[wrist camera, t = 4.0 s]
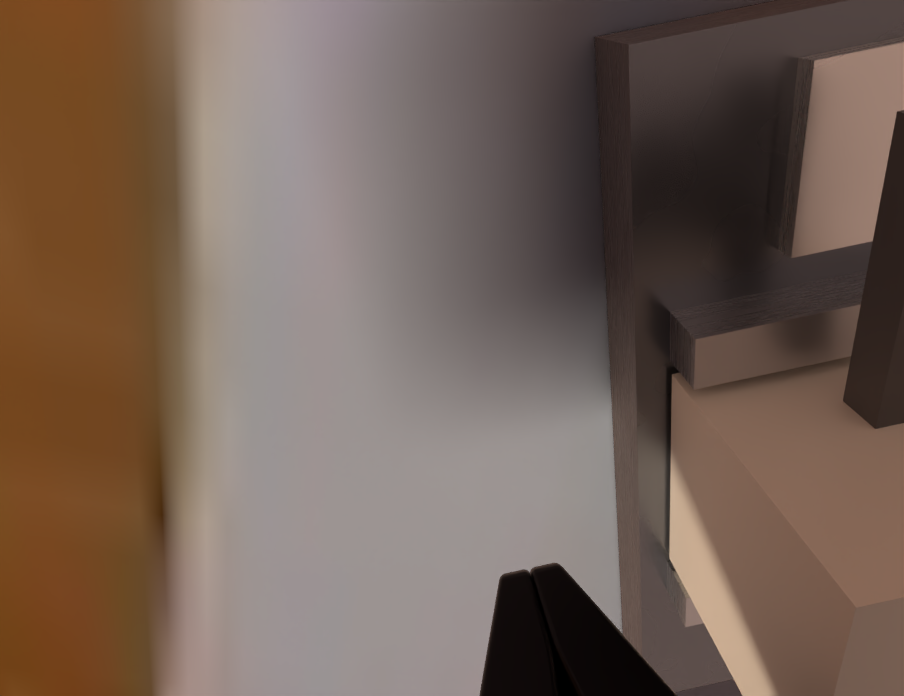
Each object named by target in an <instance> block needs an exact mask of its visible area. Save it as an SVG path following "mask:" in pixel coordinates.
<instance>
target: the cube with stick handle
mask: <svg viewBox="0 0 904 696" xmlns="http://www.w3.org/2000/svg"><path fill="white" fill-rule="evenodd" d="M669 559H670V560H671V562H672V564H673V566H674V568H675V570H676V572H677V574H678V575H679V577H680V579H681V581H682V583H683V585H684V587H685V589H686V590H687V592H688V594H689V596H690V598H691V600H692V602H693V604H694V605H695V607H696V609H697V611H698V613H699V615H700V617H701V619H702V621H703V622H704V624H705V626H706V628H707V630H708V632H709V634H710V636H711V637H712V639H713V641H714V643H715V645H716V647H717V649H718V651H719V652H720V654H721V656H722V658H723V660H724V662H725V664H726V666H727V667H728V669H729V671H730V673H731V675H732V677H733V679H734V681H735V683H736V684H737V686H738V688H739V690H740V692H741V694H742V696H904V110H901V111H897V114H896V119H895V125H894V130H893V135H892V141H891V146H890V151H889V157H888V162H887V167H886V173H885V178H884V183H883V189H882V194H881V199H880V205H879V210H878V215H877V221H876V226H875V231H874V237H873V242H872V247H871V253H870V258H869V263H868V269H867V274H866V279H865V285H864V290H863V295H862V301H861V306H860V311H859V317H858V322H857V327H856V333H855V338H854V343H853V349H852V354H851V356H850V357H845V358H841V359H836V360H831V361H827V362H822V363H817V364H813V365H808V366H803V367H798V368H794V369H789V370H784V371H780V372H775V373H770V374H766V375H761V376H756V377H752V378H747V379H742V380H737V381H733V382H728V383H723V384H719V385H714V386H709V387H705V388H700V389H695V390H694V389H693V388H692V387H691V386H690V384H689V383H688V382H687V381H686V379H685V378H684V377H683V376H682V375H681V373H676V374H672V401H671V476H670V550H669Z"/></svg>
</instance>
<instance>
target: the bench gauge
mask: <svg viewBox="0 0 904 696" xmlns="http://www.w3.org/2000/svg"><path fill="white" fill-rule="evenodd" d="M595 58H596V80H597V101H598V122H599V143H600V164H601V185H602V206H603V228H604V249H605V270H606V291H607V312H608V333H609V354H610V376H611V397H612V418H613V439H614V460H615V481H616V502H617V524H618V545H619V566H620V587H621V608H622V629H623V635H624V636H625V638H626V639H627V640H628V641H629V642H630V643H631V644H632V645H633V647H634V648H635V649H636V650H637V651H638V652H639V653H640V654H641V655H642V657H643V658H644V659H645V660H646V661H647V662H648V663H649V664H650V666H651V667H652V668H653V669H654V670H655V671H656V672H657V673H658V675H659V676H660V677H661V678H662V679H663V680H664V681H665V682H666V684H667V685H668V686H669V687H670V688H671V689H672V690H673V691H674V692H678V691H683V690H687V689H692V688H696V687H701V686H705V685H710V684H714V683H719V682H723V681H728V680H732V679H733V677H732V675H731V673H730V671H729V669H728V667H727V666H726V664H725V662H724V660H723V658H722V656H721V654H720V652H719V651H718V649H717V647H716V645H715V643H714V641H713V639H712V637H711V636H710V634H709V632H708V630H707V628H706V626H705V624H704V622H703V621H702V619H701V617H700V615H699V613H698V611H697V609H696V607H695V605H694V604H693V602H692V600H691V598H690V596H689V594H688V592H687V590H686V589H685V587H684V585H683V583H682V581H681V579H680V577H679V575H678V574H677V572H676V570H675V568H674V566H673V564H672V562H671V560H670V559H669V550H670V476H671V401H672V374H676V373H681V375H682V376H683V377H684V378H685V379H686V381H687V382H688V383H689V384H690V386H691V387H692V388H693V389H694V390H695V389H700V388H705V387H709V386H714V385H719V384H723V383H728V382H733V381H737V380H742V379H747V378H752V377H756V376H761V375H766V374H770V373H775V372H780V371H784V370H789V369H794V368H798V367H803V366H808V365H813V364H817V363H822V362H827V361H831V360H836V359H841V358H845V357H850V356H851V354H852V349H853V343H854V338H855V333H856V327H857V322H858V317H859V311H860V306H861V301H862V295H863V290H864V285H865V279H866V274H867V269H868V263H869V258H870V253H871V247H872V242H873V237H874V231H875V226H876V221H877V215H878V210H879V205H880V199H881V194H882V189H883V183H884V178H885V173H886V167H887V162H888V157H889V151H890V146H891V141H892V135H893V130H894V125H895V119H896V114H897V111H901V110H904V0H775V1H770V2H765V3H760V4H755V5H750V6H746V7H741V8H736V9H731V10H726V11H721V12H716V13H711V14H706V15H701V16H696V17H691V18H686V19H681V20H676V21H671V22H666V23H661V24H656V25H651V26H646V27H641V28H637V29H632V30H627V31H622V32H617V33H612V34H607V35H602V36H597V37H595Z"/></svg>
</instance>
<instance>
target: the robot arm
mask: <svg viewBox="0 0 904 696" xmlns="http://www.w3.org/2000/svg"><path fill="white" fill-rule="evenodd" d="M480 696H677V695H676V694H675V692H674V691H673V690H672V689H671V688H670V687H669V686H668V685H667V684H666V682H665V681H664V680H663V679H662V678H661V677H660V676H659V675H658V673H657V672H656V671H655V670H654V669H653V668H652V667H651V666H650V664H649V663H648V662H647V661H646V660H645V659H644V658H643V657H642V655H641V654H640V653H639V652H638V651H637V650H636V649H635V648H634V647H633V645H632V644H631V643H630V642H629V641H628V640H627V639H626V638H625V636H624V635H623V634H622V633H621V632H620V631H619V630H618V629H617V627H616V626H615V625H614V624H613V623H612V622H611V621H610V620H609V618H608V617H607V616H606V615H605V614H604V613H603V612H602V611H601V610H600V608H599V607H598V606H597V605H596V604H595V603H594V602H593V601H592V599H591V598H590V597H589V596H588V595H587V594H586V593H585V592H584V590H583V589H582V588H581V587H580V586H579V585H578V584H577V583H576V582H575V580H574V579H573V578H572V577H571V576H570V575H569V574H568V573H567V571H566V570H565V569H564V568H563V567H562V566H561V565H559V564H558V563H551V564H546V565H542V566H537V567H534V568H532V569H531V571H530V572H529V571H527V570H519V571H515V572H510V573H506V574H503V575H502V576H501V577H500V580H499V585H498V591H497V596H496V602H495V608H494V614H493V620H492V626H491V632H490V637H489V643H488V649H487V655H486V661H485V667H484V673H483V679H482V684H481V690H480Z"/></svg>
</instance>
